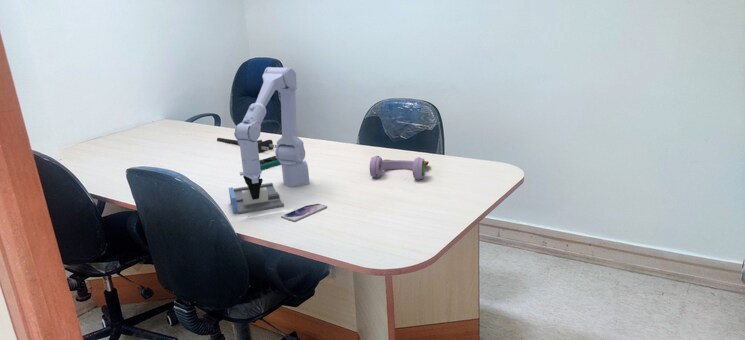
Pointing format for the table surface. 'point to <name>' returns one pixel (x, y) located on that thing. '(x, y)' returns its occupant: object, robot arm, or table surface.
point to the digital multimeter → (269, 163)
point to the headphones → (398, 166)
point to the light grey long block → (262, 197)
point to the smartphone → (303, 212)
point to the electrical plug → (262, 145)
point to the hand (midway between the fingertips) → (255, 197)
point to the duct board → (240, 208)
